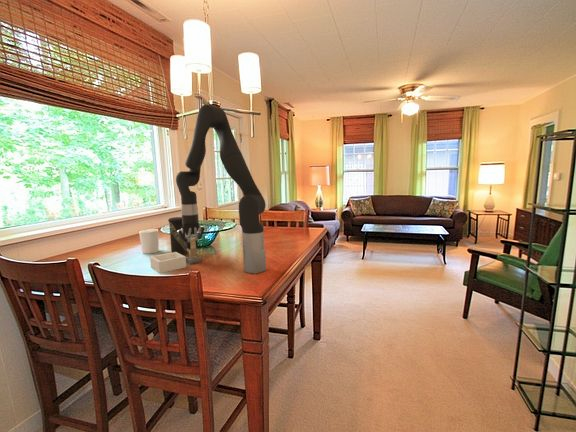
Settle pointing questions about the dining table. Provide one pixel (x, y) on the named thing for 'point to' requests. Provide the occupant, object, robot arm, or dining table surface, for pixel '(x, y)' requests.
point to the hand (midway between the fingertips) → (192, 248)
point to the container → (177, 236)
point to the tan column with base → (193, 253)
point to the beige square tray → (168, 262)
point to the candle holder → (149, 240)
